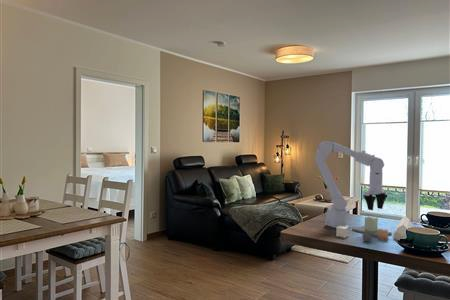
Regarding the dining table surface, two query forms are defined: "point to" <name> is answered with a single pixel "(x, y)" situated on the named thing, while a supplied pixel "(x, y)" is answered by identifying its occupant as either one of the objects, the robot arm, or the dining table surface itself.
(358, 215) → the dining table surface
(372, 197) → the robot arm
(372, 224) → the sage block
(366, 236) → the rubber ball
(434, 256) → the dining table surface
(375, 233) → the slate board
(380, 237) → the tan sphere
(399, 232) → the crystal
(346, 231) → the off-white cube
